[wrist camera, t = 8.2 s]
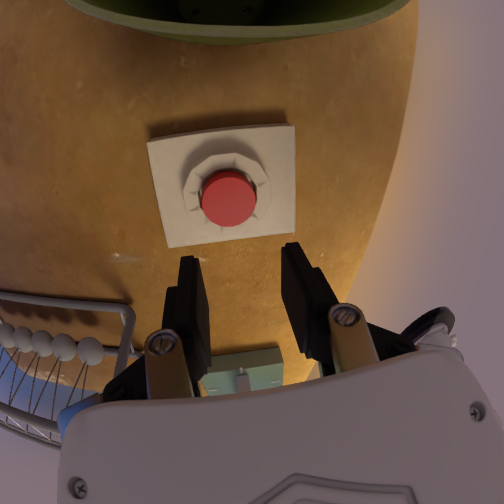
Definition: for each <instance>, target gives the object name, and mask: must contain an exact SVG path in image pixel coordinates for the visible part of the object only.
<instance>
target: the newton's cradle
mask: <svg viewBox="0 0 504 504" xmlns="http://www.w3.org/2000/svg"><path fill="white" fill-rule="evenodd" d="M0 299H3V300H9V301H16V302H22V303H29V304H37V305H45V306H53V307H62V308H71V309H81V310H93V311H105V312H119V313H120V315H121V318H122V322H123V325H124V330H123V334H122V339H121V343H120V348H119V349H114V348H104V347H103V346H102V344H101V343H100V342H99V341H98V340H97V339H95V338H93V337H86V338H83V339H82V340H81V341H80V342H79V344H76V343H75V341H74V339H73V338H72V337H71V336H69V335H67V334H63V333H62V334H58V335H56V336H55V337H54V339H53V337H52V336H51V335H50V334H49V333H48V332H47V331H44V330H38V331H36V332H35V333H34V334H33V333H32V332H31V330H29V329H28V328H26V327H19V328H17V329H16V330H15V328H14V327H13V326H12V325H10V324H8V323H2V321H1V319H0V323H1V325H0V346H1V345H2V346H3V349H4V347H6V348H12V347H14V346H16V348H17V350H19V351H20V353H21V352H30V351H31V350H32V349H33V350H34V352H35V353H36V355H38V356H39V358H40V356H42V357H47V356H49V355H51V354H52V353H54V355H55V356H56V357H57V358H58V359H57V361H56V363H55V365H54V367H53V369H52V371H51V373H50V375H49V377H48V379H47V381H46V384H47V382H48V380H49V378H50V376H51V374H52V372H53V370H54V368H55V366H56V364H57V362H58V360H60V365H59V370H58V376H57V381H56V387H55V394H54V400H53V408H54V402H55V395H56V388H57V382H58V377H59V371H60V366H61V361H69V360H71V359H73V358H74V357H75V355H76V351H77V353H78V356H79V358H80V359H81V361H82V362H84V365H83V367H82V370H81V372H80V374H79V377H78V379H77V381H76V384H75V386H74V388H73V391H72V393H71V396H70V398H69V401H68V403H67V406H66V408H67V407H68V405H69V402H70V399H71V397H72V394H73V392H74V389H75V387H76V385H77V382H78V380H79V378H80V375H81V373H82V371H83V368H84V366H85V364H86V365H87V368H86V373H85V378H84V384H83V390H82V397H81V400H82V399H83V392H84V386H85V380H86V374H87V369H88V365H91V366H92V365H97V364H99V363H100V362H101V361H102V359H103V357H104V355H110V356H118V357H117V362H116V367H115V372H114V377H113V379H114V378H115V377H116V376H117V375H119V374H120V373H121V372H122V371H124V370H125V369H126V367H127V361H128V357H132V358H137V359H139V358H140V357H141V356H142V355H144V354H143V353H141V352H139V351H136V350H134V348H133V345H132V342H131V340H132V335H133V330H134V326H135V321H136V315H135V312H134V310H133V309H132V308H131V307H130V306H128V305H126V304H121V303H106V302H92V301H80V300H68V299H58V298H48V297H39V296H31V295H23V294H15V293H8V292H1V291H0ZM123 313H124V314H125V315H126V316H127V318H126V322H125V318H124V315H123ZM130 348H131V350H130ZM3 349H2V352H3ZM17 350H16V351H15V353H16V352H17ZM2 352H1V356H2ZM15 353H14V354H13V356H14V355H15ZM20 353H19V356H18V360H19V357H20ZM36 355H35V356H34V358H33V360H34V359H35V357H36ZM1 356H0V359H1ZM13 356H12V357H11V359H10V361H11V360H12V358H13ZM39 358H38V362H39ZM18 360H17V364H18ZM33 360H32V362H33ZM10 361H9V362H10ZM9 362H8V364H9ZM32 362H31V363H30V365H29V367H30V366H31V364H32ZM38 362H37V366H36V371H37V367H38ZM8 364H7V366H8ZM17 364H16V368H17ZM7 366H6V367H7ZM6 367H5V369H6ZM29 367H28V369H29ZM16 368H15V373H16ZM5 369H4V371H5ZM28 369H27V370H26V372H25V374H24V376H23V378H22V380H23V379H24V377H25V375H26V373H27V371H28ZM4 371H3V372H2V374H3V373H4ZM36 371H35V375H34V381H35V376H36ZM15 373H14V377H15ZM2 374H1V376H2ZM1 376H0V378H1ZM22 380H21V382H22ZM34 381H33V386H34ZM13 382H14V378H13ZM21 382H20V384H21ZM20 384H19V386H20ZM46 384H45V386H44V388H43V390H42V392H41V395H40V397H39V399H38V402H37V404H36V406H35V409H34V411H33V414H30V413H29V412H30V404H31V398H32V392H33V386H32V391H31V398H30V404H29V411H28V412H24V411H22V410H19V409H17V408H14V407H12V406H10V405H11V402H12V401H13V398H14V396H15V394H16V392H17V390H18V388H19V386H18V387H17V390H16V391H15V394H14V395H13V398H12V400H11V402H10V398H11V393H12V387H13V383H12V387H11V393H10V398H9V405H7V404H4V403H2V402H0V413H2V414H4V415H6V416H7V419H8V417H9V418H10V417H11V418H14V419H16V420H18V421H21V422H23V423H26V424H27V430H24V429H23V428H22V429H23V430H22V429H20V428H17V427H15V426H13V425H10V424H8V423H7V419H6V422H5V421H4V420H3V421H2V420H0V427H1V428H3V429H5V430H7V431H9V432H11V433H14V434H16V435H18V436H20V437H23V438H25V439H28V440H31V441H33V442H35V443H38V444H41V445H44V446H46V447H49V448H52V449H55V450H59V451H61V447H62V443H59V442H56V441H52V440H51V432H52V433H55V434H59V435H60V433H59V429H58V426H57V422H56V421H52V419H53V410H54V409H53V408H52V417H51V418H52V419H51V420H49V419H46V418H42V417H39V416H36V415H34V412H35V410H36V407H37V405H38V403H39V400H40V398H41V396H42V393H43V391H44V389H45V387H46ZM11 418H10V419H11ZM15 423H16V422H15ZM28 425H31V426H32V427H33V426H34V428H35V427H37V428H40V429H43V430H46V431H49V432H50V439H48V438H47V437H46V438H44V437H40V436H38V435H35V434H32V433H30V432H28ZM37 431H38V430H37ZM39 432H40V431H39ZM40 433H41V432H40ZM41 434H42V433H41Z"/></svg>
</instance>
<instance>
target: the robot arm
mask: <svg viewBox="0 0 504 504" xmlns="http://www.w3.org/2000/svg"><path fill="white" fill-rule="evenodd" d="M281 295H282V299H283V302H284V305H285V308H286V311H287V314H288V317H289V320H290V323H291V326H292V329H293V332H294V335H295V338H296V341H297V344H298V347H299V350H300V352H301V353H305V355H306V358H307V359H310V358H313V359H314V360H316V361H318V365H319V371H320V377H321V378H318V379H314V380H309V381H305V382H300V383H295V384H290V385H285V386H280V387H274V388H268V389H262V390H256V391H249V392H242V393H234V394H226V395H216V396H206V397H202V393H201V389H200V385H199V382H198V381H199V380H200V379H201V378H202V377H203V376H204V375H207V374H208V372H207V367H211V366H212V363H211V346H210V325H209V306H208V300H207V296H206V291H205V287H204V282H203V277H202V273H201V268H200V263H199V259H198V258H194V256H193V255H191V256H183V257H181V260H180V268H179V276H178V285H177V286H174V287H168V288H167V292H166V298H165V305H164V312H163V320H162V328H161V329H160V330H157V331H155V332H153V333H151V334H150V335H149V336H148V337H147V339H146V341H145V345H144V353H145V354H144V355H142V356H141V357H140V358H139V359H137V360H136V361H135V362H134V363H132V364H131V365H130V366H129V367H127V368H126V369H125V370H124V371H122V372H121V373H120V374H119V375H117V376H116V377H115V378H114V379H112V380H111V381H110V382H109V383H108V384H107V385H106V386H105V388H104V390H103V393H101V394H98V393H95V394H93V395H91V396H89V397H87V398H85V399H83V400H81V401H79V402H77V403H75V404H73V405H71V406H69V407H67V408H64V409H63V410H62V411H61V412H60V413H59V415H58V417H57V426H58V429H59V433H60V436H61V438H62V447H61V452H60V460H59V468H58V485H57V487H58V488H57V504H504V431H503V422H502V420H501V417H500V416H499V414H498V413H497V412H496V410H495V409H494V408H493V407H492V405H491V403H490V402H489V399H488V398H487V396H486V394H485V392H484V390H483V389H482V387H481V385H480V384H479V382H478V380H477V379H476V377H475V376H474V374H473V373H472V371H471V370H470V369H469V367H468V366H467V365H466V364H465V362H464V358H463V355H462V354H461V352H460V351H459V350H457V349H456V348H453V347H454V346H455V345H456V339H457V335H452V336H451V337H449V335H448V334H447V332H448V328H447V326H446V325H445V324H444V323H438V324H435V325H433V326H431V327H429V328H427V329H426V330H424V331H423V332H422V333H420V334H419V335H418V336H417V337H416V338H415V339H414V340H413V341H411V340H410V339H409V338H407V337H405V336H402V335H400V334H397V333H394V332H391V331H389V330H386V329H383V328H381V327H378V326H375V325H373V324H370V323H368V322H366V320H365V317H364V315H363V313H362V311H361V310H360V309H359V308H358V307H357V306H355V305H353V304H349V303H339V301H338V300H337V298H336V296H335V294H334V292H333V290H332V289H331V287H330V285H329V283H328V282H327V280H326V278H325V276H324V274H323V273H322V271H321V269H320V268H319V267H315V268H312V266H311V264H310V262H309V261H308V259H307V257H306V255H305V253H304V252H303V250H302V248H301V246H300V244H299V243H298V242H292V243H286V244H285V247H282V248H281Z"/></svg>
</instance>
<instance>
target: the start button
mask: <svg viewBox="0 0 504 504" xmlns="http://www.w3.org/2000/svg"><path fill="white" fill-rule="evenodd" d="M255 205H256V197H255V193H254V191H253V189H252V186H251V184H250V182H249V181H248V179H247V178H246V177H245V176H243V175H242V174H240V173H238V172H235V171H222V172H218V173H216V174H214V175H213V176H211V177H210V178H209V179H208V180H207V182H206V183H205V185H204V187H203V191H202V209H203V212H204V214H205V216H206V217H207V218H208V219H209V220H210V221H211V222H213V223H214V224H216V225H219V226H223V227H233V226H237V225H239V224H242V223H243V222H245V221H246V220H247V219H248V218H249V217H250V216H251V215H252V213H253V211H254V209H255Z"/></svg>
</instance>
